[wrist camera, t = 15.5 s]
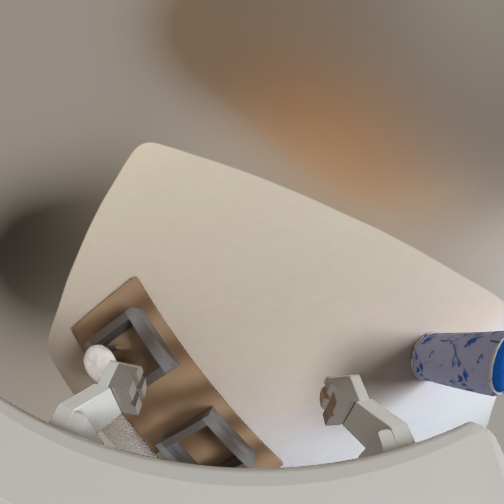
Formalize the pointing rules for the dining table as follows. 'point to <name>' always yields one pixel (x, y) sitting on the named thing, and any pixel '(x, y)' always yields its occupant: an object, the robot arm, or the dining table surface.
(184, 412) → the port board
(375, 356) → the dining table surface
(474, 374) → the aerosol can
